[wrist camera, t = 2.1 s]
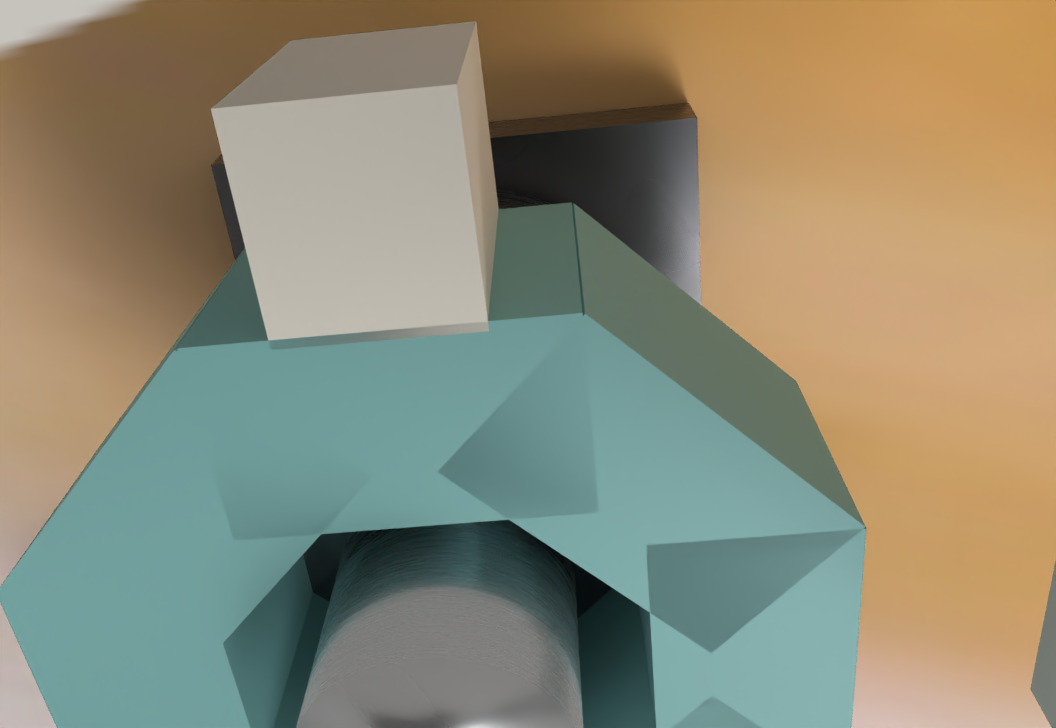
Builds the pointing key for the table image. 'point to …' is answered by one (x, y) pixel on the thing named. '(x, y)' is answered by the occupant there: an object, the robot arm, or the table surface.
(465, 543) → the rounded cylinder on base
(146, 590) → the ring
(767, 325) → the table surface
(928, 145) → the table surface
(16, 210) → the table surface
